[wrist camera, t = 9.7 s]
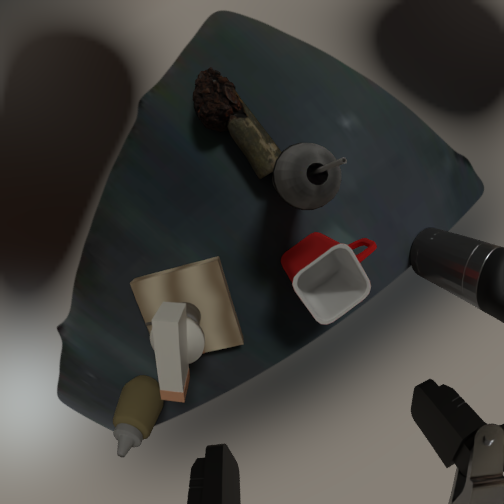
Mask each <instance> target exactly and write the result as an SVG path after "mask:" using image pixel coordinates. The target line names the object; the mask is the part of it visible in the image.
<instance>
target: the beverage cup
mask: <svg viewBox="0 0 504 504" xmlns="http://www.w3.org/2000/svg"><path fill="white" fill-rule="evenodd" d="M346 162H347V160H346V158H344V157H343V158H341V159H338V160H336V158H335V157H334V156H333V154H332V153H331V152H330V151H328V150H327V149H326V148H324V147H322V146H319V145H317V144H314V143H298V144H294V145H291V146H289V147H288V148H286V149H285V150H284V151H282V152H281V154H280V155H279V157H278V158H277V159H276V161H275V165H274V168H273V176H272V183H273V186H274V188H275V189H276V191H277V193H278V194H279V195H280V197H281V198H282V199H283V201H285V202H286V203H288V204H289V205H290V206H292V207H294V208H298V209H301V210H314V209H317V208H319V207H322V206H324V205H325V204H327V203H328V202H329V201H331V200H332V199H333V198H334V196H335V195H336V193H337V192H338V190H339V187H340V183H341V170H340V167H339V165H342V164H345V163H346Z"/></svg>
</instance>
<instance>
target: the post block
mask: <svg viewBox="0 0 504 504" xmlns="http://www.w3.org/2000/svg"><path fill="white" fill-rule="evenodd" d="M130 285H131V287H132V290H133V293H134V295H135V298H136V301H137V303H138V306H139V308H140V311H141V313H142V316H143V318H144V320H145V324H146V326H147V328H148V330H149V332H150V333H151V330H152V319H153V317H154V315H155V314H156V312H157V311H158V309H159V307H160V306H161V304H162V303H163V302H174V303H186V316H188V317H190V318H192V319H193V320H195V321H196V322H197V323H198V324H199V325H200V327H201V328H202V330H203V332H204V335H205V345H204V350H203V353H205V352H210V351H215V350H220V349H225V348H229V347H234V346H238V345H243V344H244V343H243V334H242V331H241V328H240V325H239V322H238V318H237V315H236V312H235V309H234V305H233V302H232V299H231V296H230V292H229V289H228V286H227V282H226V279H225V275H224V272H223V269H222V265H221V262H220V258H219V256H218V257H214V258H210V259H206V260H203V261H199V262H195V263H191V264H187V265H183V266H180V267H176V268H172V269H168V270H164V271H161V272H157V273H153V274H149V275H146V276H142V277H138V278H135V279H134V280H133V281H132V282H131V283H130ZM203 353H202V354H203Z"/></svg>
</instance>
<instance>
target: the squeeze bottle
mask: <svg viewBox="0 0 504 504" xmlns="http://www.w3.org/2000/svg"><path fill="white" fill-rule="evenodd" d="M162 408H163V400H161V395H160V386H159V383H158V382H157V381H156V380H155V379H153V378H151V377H149V376H145V375H139V376H137V377H135V378H134V379H132V380H131V381H129V382H128V383H127V384H125V386H124V387H123V389H122V392H121V395H120V398H119V401H118V404H117V408H116V411H115V414H114V417H113V424H114V426H115V427H116V428H115V430H114V432H113V433H114V437H115V438H116V439H117V440H118V451H117V454H118V456H120V457H125V455H126V454H127V453H128V451H129V450H130V449H131V447H138V446H140V445H141V442H142V440H143V439H146V438H148V437H149V436H150V433H151V431H152V429H153V427H154V425H155V423H156V420H157V418H158V416H159V414H160V412H161V410H162Z"/></svg>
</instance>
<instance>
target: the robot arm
mask: <svg viewBox="0 0 504 504" xmlns="http://www.w3.org/2000/svg"><path fill="white" fill-rule="evenodd" d="M410 260H411V265H412V268H413V270H414V271H415V273H417V274H418V275H419V276H421V277H423V278H425V279H427V280H429V281H430V282H432V283H434V284H436V285H438V286H439V287H441V288H443V289H445V290H447V291H449V292H450V293H452V294H454V295H456V296H458V297H460V298H461V299H463V300H465V301H466V302H468V303H470V304H472V305H474V306H475V307H477V308H479V309H480V310H482V311H484V312H485V313H487V314H489V315H491V316H493V317H495V318H497V319H498V320H500V321H501V322H503V323H504V247H501V246H497V245H494V244H490V243H487V242H484V241H480V240H477V239H473V238H470V237H466V236H462V235H459V234H454V233H451V232H448V231H444V230H440V229H436V228H426V229H424V230H423V231H421V232H420V233H419V234H418V235H417V237H416V238H415V240H414V242H413V245H412V248H411V254H410ZM411 414H412V417H413V419H414V421H415V422H416V424H417V425H418V427H419V428H420V429H421V431H422V432H423V434H424V435H425V437H426V438H427V440H428V441H429V442H430V444H431V445H432V447H433V448H434V450H435V451H436V453H437V454H438V456H439V457H440V458H441V460H442V462H443V463H444V465H445V466H446V468H448V467H450V466H451V465H453V464H454V463H455V465H456V466H457V469H456V473H455V478H454V484H453V488H452V492H451V496H450V500H449V504H504V476H503V472H504V424H502V425H496V424H487V423H485V422H484V421H483V420H482V419H481V418H480V417H479V416H478V415H477V414H476V412H475V411H474V410H473V409H472V408H471V407H470V406H469V405H468V404H467V403H465V401H464V400H463V399H462V397H460V396H459V394H458V393H457V392H456V391H455V390H454V389H453V388H451V387H449V386H446V385H444V384H443V385H441V386H438V385H437V384H436V383H435V382H434V381H433V380H432V379H429V380H427V381H425V382H423V383H421V384H419V385H417V386H416V387H415V388H414V393H413V399H412V405H411ZM239 479H240V478H239V468H238V464H237V462H236V460H235V458H234V456H233V455H232V453H231V451H230V450H229V448H228V447H227V445H226V444H218V445H209V446H207V447H206V454H205V458H197V459H196V461H195V463H194V464H193V466H192V468H191V475H190V483H189V487H190V488H189V492H188V501H187V504H240V480H239Z"/></svg>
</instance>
